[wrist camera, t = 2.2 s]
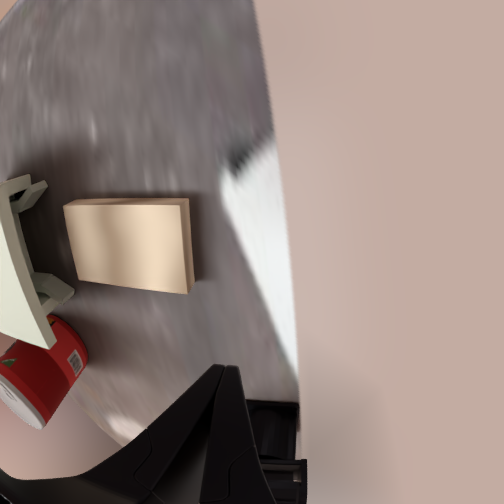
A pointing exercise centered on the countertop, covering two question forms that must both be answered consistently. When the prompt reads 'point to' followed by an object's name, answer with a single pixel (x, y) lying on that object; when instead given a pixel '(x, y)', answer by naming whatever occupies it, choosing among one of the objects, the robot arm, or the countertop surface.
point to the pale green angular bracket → (24, 272)
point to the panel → (132, 242)
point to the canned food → (41, 373)
